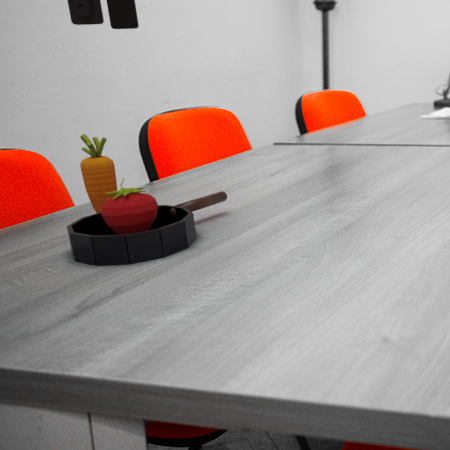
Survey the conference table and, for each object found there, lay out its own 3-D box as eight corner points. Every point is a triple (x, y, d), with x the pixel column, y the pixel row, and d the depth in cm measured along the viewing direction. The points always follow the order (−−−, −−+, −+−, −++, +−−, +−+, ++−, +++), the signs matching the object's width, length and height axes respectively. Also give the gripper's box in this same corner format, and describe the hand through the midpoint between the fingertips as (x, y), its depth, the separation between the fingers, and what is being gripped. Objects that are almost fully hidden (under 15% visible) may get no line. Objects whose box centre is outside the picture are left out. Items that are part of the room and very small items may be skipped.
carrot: (131, 223, 95) (115, 132, 91) (103, 231, 91) (85, 136, 87) (112, 219, 98) (97, 131, 93) (84, 227, 94) (67, 135, 89)
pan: (127, 271, 73) (121, 241, 72) (47, 255, 80) (41, 227, 79) (264, 217, 96) (262, 194, 95) (193, 209, 103) (190, 186, 102)
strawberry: (167, 244, 83) (157, 176, 80) (110, 254, 79) (97, 184, 76) (158, 234, 88) (149, 170, 85) (104, 244, 84) (92, 177, 81)
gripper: (82, -117, 70) (107, 31, 74) (-7, -172, 53) (33, 23, 58) (145, -119, 70) (166, 29, 75) (76, -173, 53) (108, 21, 58)
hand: (108, 26), depth 66 cm, fingers open, 9 cm apart
